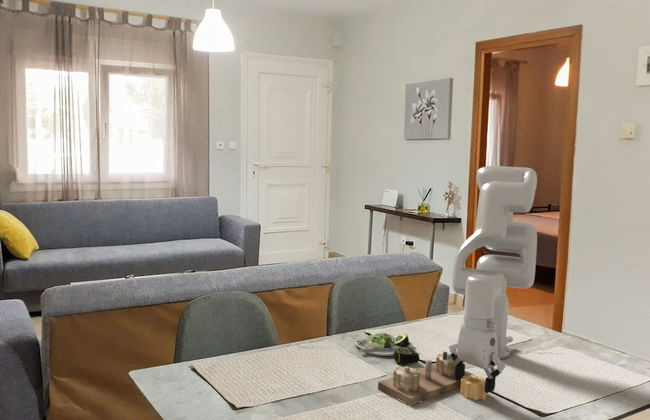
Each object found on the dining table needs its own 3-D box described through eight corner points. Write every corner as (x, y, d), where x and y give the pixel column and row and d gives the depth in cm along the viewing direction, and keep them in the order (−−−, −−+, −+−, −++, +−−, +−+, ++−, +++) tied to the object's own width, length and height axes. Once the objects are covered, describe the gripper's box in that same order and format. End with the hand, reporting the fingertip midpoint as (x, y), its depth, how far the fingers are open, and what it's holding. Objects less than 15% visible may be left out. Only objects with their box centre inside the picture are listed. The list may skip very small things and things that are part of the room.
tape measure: (420, 365, 174) (420, 353, 174) (399, 367, 172) (399, 355, 172) (410, 357, 181) (410, 345, 180) (389, 359, 179) (390, 347, 178)
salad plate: (377, 364, 174) (378, 350, 174) (341, 347, 188) (341, 333, 188) (423, 352, 186) (423, 338, 185) (385, 336, 200) (385, 323, 199)
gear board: (442, 367, 172) (443, 341, 171) (475, 381, 163) (476, 354, 162) (377, 389, 156) (379, 360, 155) (410, 405, 147) (411, 375, 146)
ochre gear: (471, 386, 160) (472, 372, 159) (492, 395, 154) (493, 381, 154) (455, 392, 155) (456, 378, 155) (476, 402, 150) (477, 387, 150)
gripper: (515, 328, 148) (510, 393, 150) (461, 312, 161) (457, 371, 163) (497, 333, 143) (492, 400, 145) (443, 316, 157) (439, 377, 158)
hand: (474, 385), depth 154 cm, fingers open, 9 cm apart
